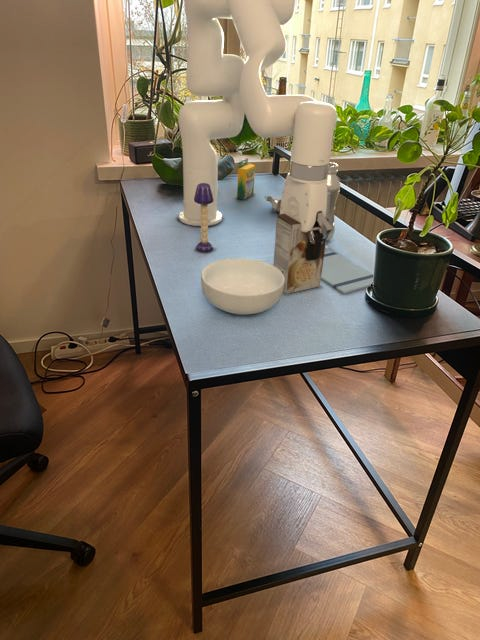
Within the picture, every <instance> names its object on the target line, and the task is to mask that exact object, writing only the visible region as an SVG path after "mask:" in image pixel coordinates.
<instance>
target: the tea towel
mask: <svg viewBox="0 0 480 640" xmlns="http://www.w3.org/2000/svg"><path fill="white" fill-rule="evenodd" d="M373 275H374V273H371V272H369V271H368V270H366V269H364V268H362V267H361V266H359V265H357V264H356V263H354V262H352V261H350V260H348V259H347V258H345V257H343V256H342V255H340V254H338V253H337V252H335V251H334V250H332V249H329V248H325V252H324V259H323V267H322V274H321V281H324V282H325V283H327V285H329V286H331V287H332V288H334V289H335V290H336V291H338V292H340V293H341V294H343V295H344V294H347V293H351V292H355V291H358V290H362V289H366V288H370V287H372V286H371V284H372V281H373Z"/></svg>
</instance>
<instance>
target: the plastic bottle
mask: <svg viewBox="0 0 480 640" xmlns="http://www.w3.org/2000/svg"><path fill="white" fill-rule="evenodd" d="M338 168H339V164H337V163H335V162H329V167H328V174H327V180H326V182H327V208H326V216H325V217H327V218H329V221H328V222H329V224H330V225H331V227H332V230H331V232H330V234H329V235H328V238H327V239H326V242H327V241H330V240H331V239H333V237H334V235H335V213H336V206H337V201H338V197H339V194H340V191H341V182H340V180H339V177H338V175H337V173H338Z"/></svg>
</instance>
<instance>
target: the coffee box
mask: <svg viewBox="0 0 480 640" xmlns="http://www.w3.org/2000/svg"><path fill="white" fill-rule="evenodd" d="M325 218H326V219H327V221H329V218H327V217H325ZM275 224H276V225H275V239H274V252H273V264H272V265H273V266H274V267H276V268H277V269H279V270H280V271H281V272H282V273H283V275H284V278H285V284H284V290H283V294H286V295H288V294H293V293H297V292H301V291H305V290H310V289H314V288H319V287H321V282H322V279H321V274H322V267H323V259H324V252H325V249H326V244H327V243H326V242H327V241H326V239H325V240H324V242H322V243H321V250H320V256H319V258H318V259H315V260H310V261H307V260H306V252H307V245H308V242H310V239H309V236H308V233H307V232H302V231H301V223H300V222H298V221H296V220H295V219H293V218H291V217H289V216H288V215H286V214H276V223H275ZM316 225H317V221H315V224H314V226H313V227H316ZM313 233H314V236H317V232H316V231H314V232H313Z"/></svg>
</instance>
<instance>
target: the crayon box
mask: <svg viewBox="0 0 480 640" xmlns="http://www.w3.org/2000/svg"><path fill="white" fill-rule="evenodd" d="M244 162H245V163H244ZM255 177H256V164H253V163H249V157H246V158H244V159H243V160H240V161H238V171H237V187H236V188H237V189H236V199H239V200H246V199H248V198H249V197H251V196H252V195H254V189H255V179H256V178H255Z"/></svg>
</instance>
